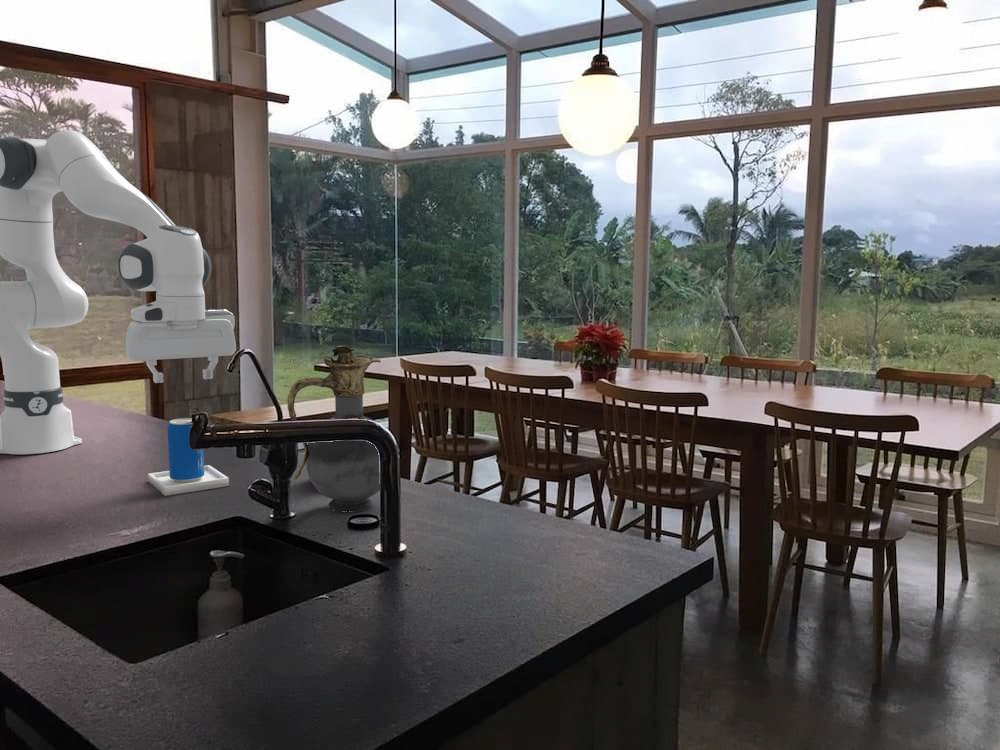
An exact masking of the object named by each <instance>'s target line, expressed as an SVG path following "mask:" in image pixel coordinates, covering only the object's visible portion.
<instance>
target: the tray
mask: <svg viewBox="0 0 1000 750" xmlns="http://www.w3.org/2000/svg"><path fill="white" fill-rule="evenodd" d="M147 478H148V480H147V481H148V482H149V484H151V485H152V486H153V487H154V488H155V489H157V491H159V492H160V493H161V494H162V495H163V496H164V497H166V496H167V497H168V496H173V495H178V494H179V495H180V494H186V493H193V492H197V491H204V490H205V491H206V490H210V489H219V488H223V487H224V488H225V487H229V486H230V478H229V477H228V476H226V475H225V473H224V474H223V473H222V472H220V471H219V470H217V469H216V468H215V467H213V466H211V465H209V464H208V465H204V476H203V477H201V479H200V480H198V481H195V482H189V483H178V482H175V481H174V480H173V479H171V478H170V470H165V471H159V472H151V473H147Z"/></svg>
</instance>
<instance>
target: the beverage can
mask: <svg viewBox="0 0 1000 750" xmlns="http://www.w3.org/2000/svg"><path fill="white" fill-rule="evenodd" d="M192 418H193V417H182V418H174V419H172V420H169V425H168V426H167V444H168V446H167V448H168V466H169V468H168V469H169V470H168V471H170V478H171V479H173V480H174V481H175V482H178V483H189V482H195V481H198V480H200V479H201V477H203V476H204V466H205V457H204V456H205V455H204V449H203V450H193V449H191V448H190V445H189V433H190V426H191V425H192Z"/></svg>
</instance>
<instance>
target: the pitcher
mask: <svg viewBox="0 0 1000 750" xmlns="http://www.w3.org/2000/svg"><path fill="white" fill-rule="evenodd" d="M355 351H357V350H356V349H355V348H351V346H350V347H349V346H347V345H337V346H334V348H333V349H332V351H331V352H332V353H333V357H337V356H338V357H337V359H334V358H333V357H331V356H328V355H325V356H323V357H322V356H321V357H320V359H323V362H324V364H325V366H326V367H329V369H330V373H329V374H328V376H327V377H324V378H322V377H314V376H306V377H303V378H300V379H298V380H296V381H295V382H294V383H292V386H291V388H290V390H289V392H288V395H287V410H288V415H289V418H290V419H291V422H292V421H293V420H297V413H296V411H295V400H296V396H297V395H298V392H299V391H301V390H302V389H304V388H307V387H310V386H315V387H316V386H317V387H320V388H327V389H331V390H332V393H333V396H335V397H334V399H335V405H334V406H335V416H333V417H331V418H330V419H348V418H358V419H367V420H372V421H375V420H374V419H371V418H369V417H367V416H364V402H363V401H364V396H363V395H365V385H364V384H365V383H364V378H365V374H366V371H367V370H368V368H369V367H370V365H372V364H373V363H379V364H381V359H379V358H376V357H369V356H366V355H354V354H353V353H352V352H355ZM302 445H303V449H304V456H303V460H302V463H301V465H300V467H299V469H298V470H297V472H296V474H295V478H294V480H295V481H296V480H297V479H298V478H299V477H300V476H301V473H302V471H303V468H304V467H306V471H307V475H308V478H309V481H311V483H312V485H313V486H314V488H315V489H316V490H317V491H318V493H320V494H321V495H323V496H325V497H326V498H329V499H331V501H330V502H329V503H328V508H329V510H330V509H332V510H331V511H333V510H334V511H333V512H335V511H345V512H344V513H350V512H349V511H358V512H360V511H359V510H363V509H366V510H368V509H370V508H372V506H373V505H374V504H373V501H372V499H371V497H373V496H374V495H375V494H377V493H378V492H380V491H381V490H380V484H379V455H378V451H377V449H376V448H375V446H374V445H373V444H371V443H369V442H366V441H333V442H315V443H308V442H307V443H302ZM369 507H370V508H369ZM367 508H368V509H367ZM346 511H347V512H346ZM363 511H364V510H363Z"/></svg>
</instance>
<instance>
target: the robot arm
mask: <svg viewBox="0 0 1000 750" xmlns="http://www.w3.org/2000/svg"><path fill="white" fill-rule="evenodd" d="M60 192H61V193H63V195H65V197H66V199H67V200H68V201H69V202H70V203H71V204H72V205H73V206H74V207H75V208H76V209H77V210H79V211H80V212H81V213H83V214H85V215H88V216H90V217H93V218H97V219H103V220H108V221H110V222H111V221H112V222H116V223H120V224H123V225H127V226H129V227H132V228H134V229H135V230H137V231H139V232H141V233H143V234H144V236H145V237H146V238H145V239H143V240H139V241H137V242H134V243H129V244H127V245H126V246H125V247H124V248H123V249H122V251H121V253H120V254H119V257H118V273H119V276H120V279H121V280H122V282H123V283H124V284H125V286H127V287H128V288H130V289H131V290H133V291H138V292H156V293H155V298H156V299H155V301H151V302H150V303H146V304H143V305H140V306H137V307H133V308H132V309H131V310H130V317H131V319H132V320H133V321H132V322H130V323H129V325H128V326H127V329H126V335H125V336H126V337H125V355H126V357H127V358H128V359H130V360H131V361H133V362H137V361H139V362H142V361H145V362H146V366H147V367H148V369H149V370H150V372H151V373H152V380H153V383H155V384H159V383H160V384H161V383H162V384H163V383H164V373H163V372H159V371H158V370H157V369H156V367H155V366H157V365H158V362H157V360H175V359H177V360H178V359H190V358H191V359H192V358H205V357H206V358H207V361H209V363H208V365H207V368H206V369H202V378H203V379H204V380H213V379H214V374H213V373H214V372H213V371H214V370H215V368H216V366H217V364H218V363H219V357H223V356H233V355H234V354H235V353H236V351H237V345H236V336H235V331H234V329H235V326H236V324H235V323H236V322H235V321H236V319H235V315H234V314H233V313H232V312H230V311H228V310H227V309H206V295H205V291H204V286H206V284H207V283H208V281H209V279H210V277H211V274H212V261H211V259H210V256H209V254H208V253H207V251H206V250H205V249H204V248H203V245H202V240H201V236H200V235H199V233H198V232H197V231H196V230H195V229H193V228H190V227H186V226H180V225H176V224H175V223H174V222H173V220H172V219H171V218H170V217H169V216H168V215H167V214H166V213H165V212H164V211H163V210H162V208H160V207H159V206H158V205H157V204H156V202H154V200H152V198H150V197H149V196H148V195H146V194H145V193H144V192H142V191H141V190H139V189H138V188H136V187H135V186H134V185H133V184H131V182H129V181H128V180H127V179H126V178H125V177H124V176H123V175H122V174H121V173H119V171H118V170H116V168H115V167H114V166H113V164H112V163H111V162H110V161H109V159H108V158H107V156H106V155H105V154H104V153H103V152H102V150H101V149H100V148H98V146H97V145H95V144H94V143H93V141H91V140H90V139H89V138H88V137H87V136H86V135H85V134H83V133H81V132H79V131H76V130H70V129H65V130H59V131H57V132H55V133H52V135H50V136H49V138H41V139H39V138H18V137H15V136H14V137H11V136H9V137H2V138H0V256H1V257H2V258H3V259H4V260H5V261H7V262H9V263H11V264H13V265H15V266H17V267H19V268H23V269H24V270H25V272H26V280H7V281H6V280H5V281H4V280H1V281H0V359H1V363H2V368H3V369H2V370H3V376H4V385H5V389H4V390H3V396H2V397H3V398H2V399H3V406H5V408H4V410H3V411H2V413H0V454H5V455H6V454H8V455H34V454H37V455H38V454H45V453H50V452H56V451H61V450H65V449H68V448H70V447H72V446H76V445H80V444H82V443H83V439H82V438H81V437H78V436H75V434H74V425H73V416H72V410H71V409H69V407H67V406H65V405H64V403H63V402H64V391H63V386H61V380H60V379H61V378H60V366H59V365H60V363H59V357H58V355H57V353H56V352H55V351H54V350H53V349H52V348H50V347H48V346H45V345H43V344H42V343H39V342H35V341H33V339H32V338H31V337H30V333H29V330H32V329H33V330H34V329H52V328H53V329H54V328H55V329H56V328H63V327H68V326H73V325H76V324H79V323H81V322H83V320H84V319H85V318H86V316H87V314H88V311H89V297H88V296H87V294H86V292H85V290H84V289H83V288H82V287H81V286H80V285H79V284H77V283H76V282H75V281H73V280H72V279H71V278H70V277H69V276H68V275H67V274H66V272H65V271H64V270H63V269H62V267H61V265H60V263H59V260H58V258H57V255H56V249H55V238H54V215H53V214H54V213H53V198H54V197H55V196H56V195H57V194H58V193H60Z"/></svg>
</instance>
